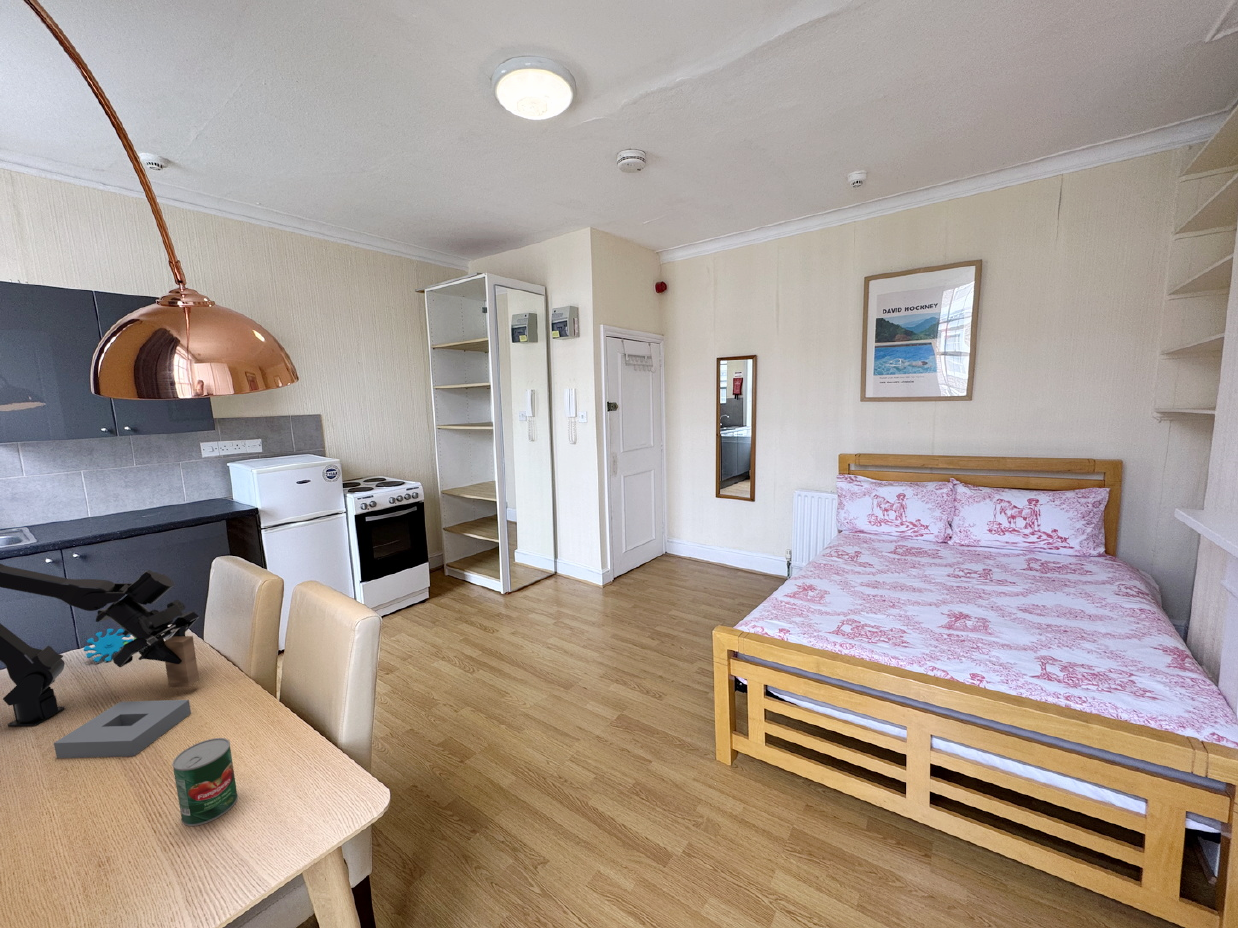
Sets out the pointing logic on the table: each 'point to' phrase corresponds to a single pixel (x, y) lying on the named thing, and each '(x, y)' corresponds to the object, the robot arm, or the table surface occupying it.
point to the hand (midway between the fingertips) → (186, 659)
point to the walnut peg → (187, 669)
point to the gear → (107, 644)
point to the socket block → (123, 729)
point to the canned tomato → (205, 781)
